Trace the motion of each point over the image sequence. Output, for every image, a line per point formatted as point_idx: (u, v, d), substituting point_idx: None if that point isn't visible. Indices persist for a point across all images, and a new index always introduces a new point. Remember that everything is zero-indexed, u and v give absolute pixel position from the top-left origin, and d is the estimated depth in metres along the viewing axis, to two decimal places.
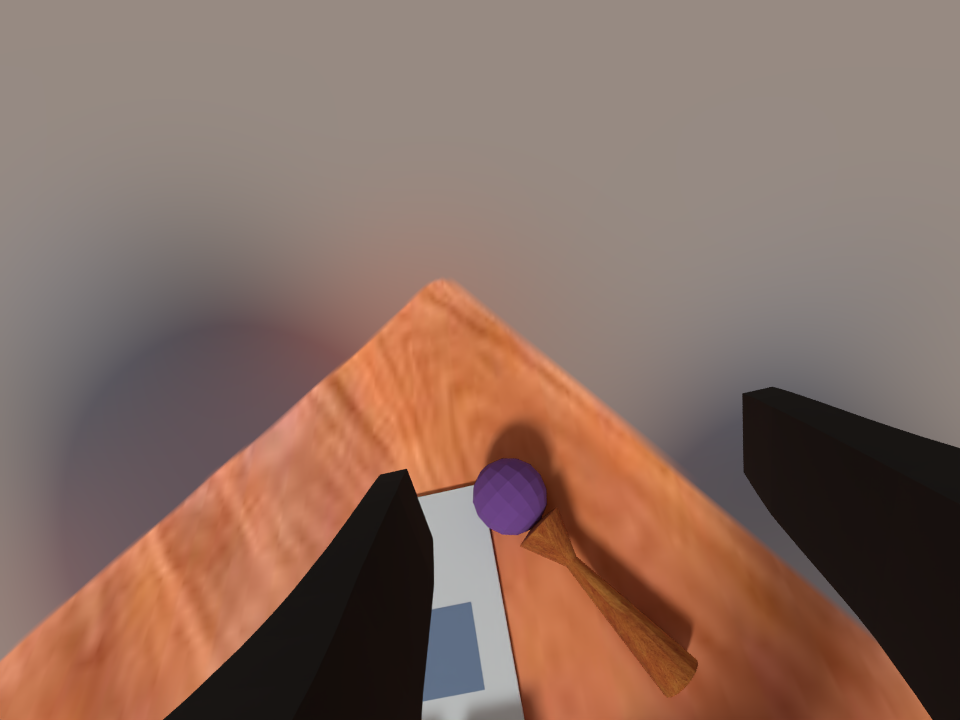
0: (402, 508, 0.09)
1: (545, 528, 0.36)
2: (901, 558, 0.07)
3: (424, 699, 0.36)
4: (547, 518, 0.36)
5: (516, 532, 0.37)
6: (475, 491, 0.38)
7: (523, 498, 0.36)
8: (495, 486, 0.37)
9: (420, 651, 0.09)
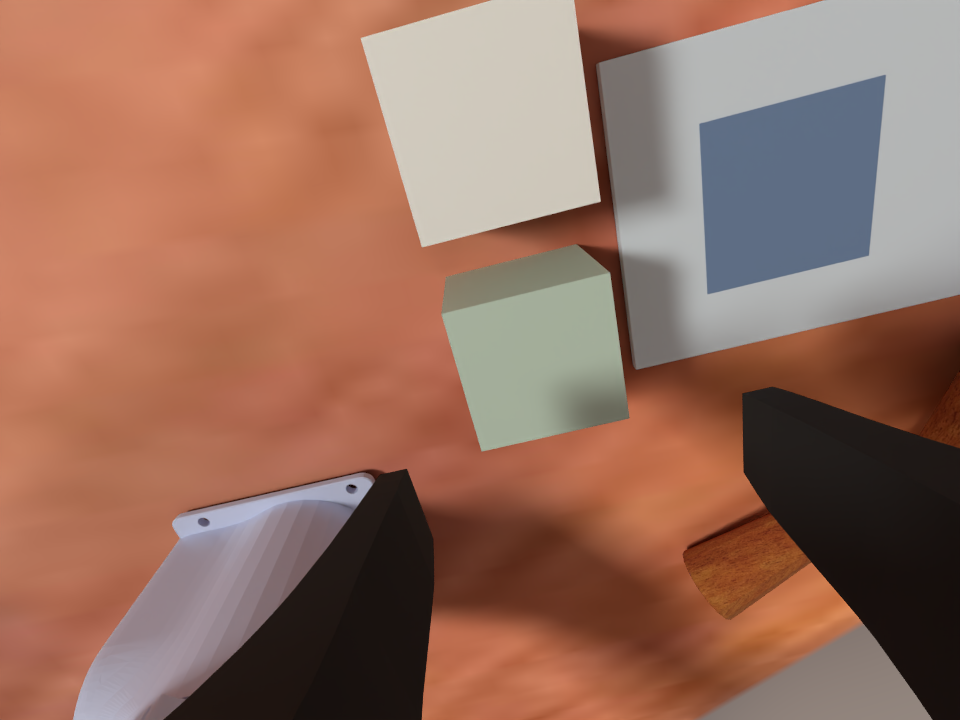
0: (402, 508, 0.09)
1: None
2: (901, 558, 0.07)
3: (704, 164, 0.16)
4: None
5: None
6: None
7: None
8: None
9: (420, 651, 0.09)
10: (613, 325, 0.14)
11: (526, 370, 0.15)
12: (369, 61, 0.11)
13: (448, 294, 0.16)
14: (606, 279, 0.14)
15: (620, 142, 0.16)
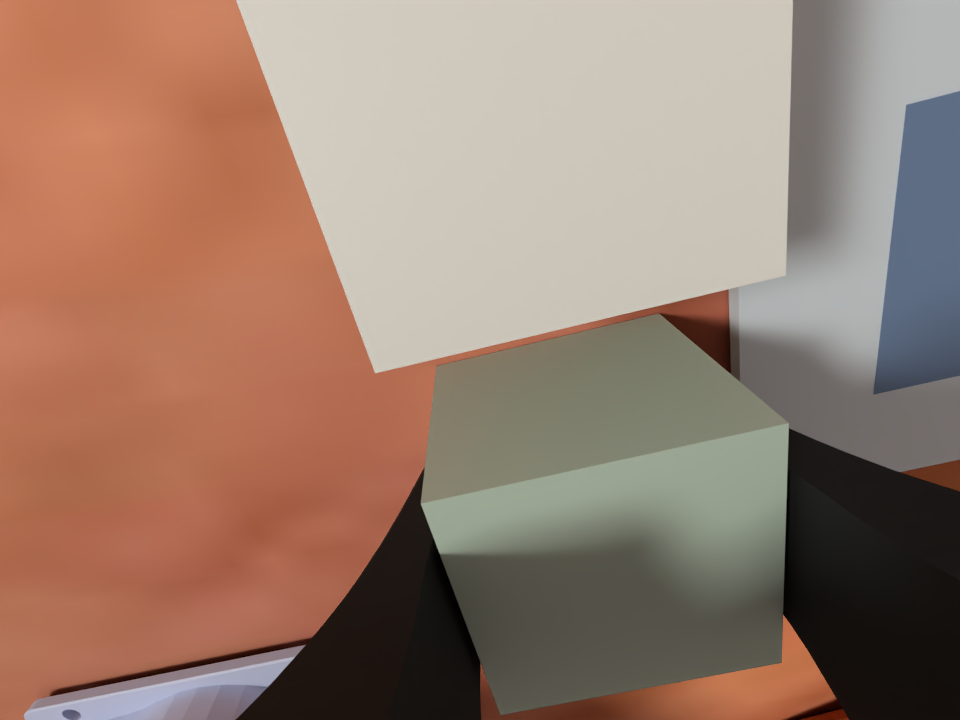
0: None
1: None
2: (824, 573, 0.07)
3: (904, 179, 0.09)
4: None
5: None
6: None
7: None
8: None
9: None
10: (779, 519, 0.07)
11: (594, 594, 0.07)
12: None
13: (437, 427, 0.08)
14: (779, 436, 0.06)
15: None
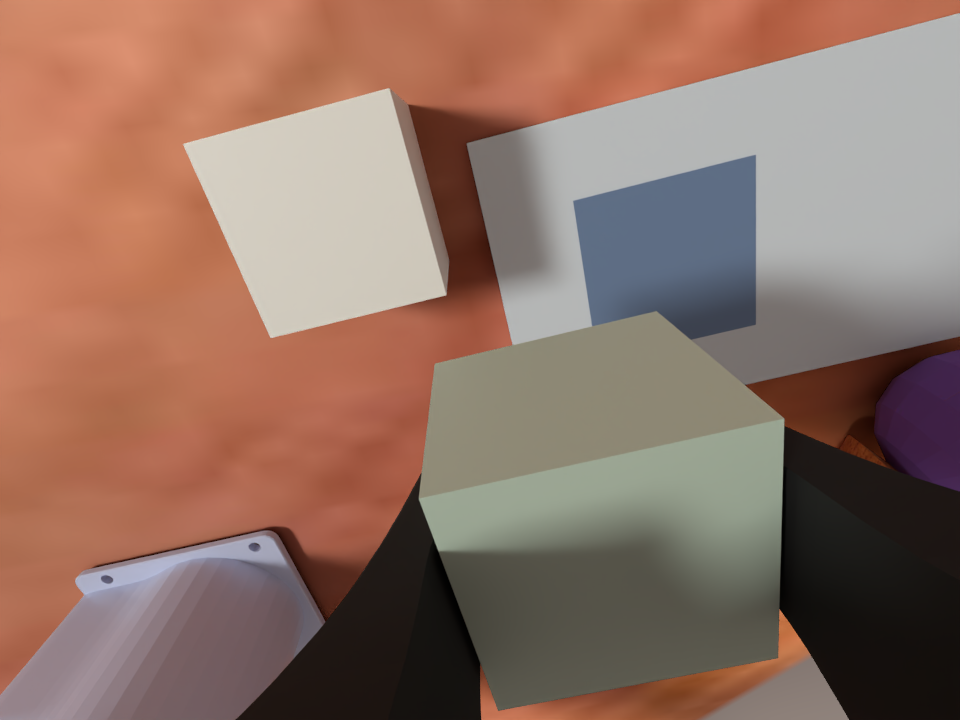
0: None
1: None
2: (824, 573, 0.07)
3: (582, 239, 0.16)
4: None
5: (914, 457, 0.17)
6: None
7: None
8: None
9: None
10: (774, 514, 0.07)
11: (591, 589, 0.07)
12: (194, 165, 0.11)
13: (435, 423, 0.08)
14: (774, 431, 0.06)
15: (495, 218, 0.16)
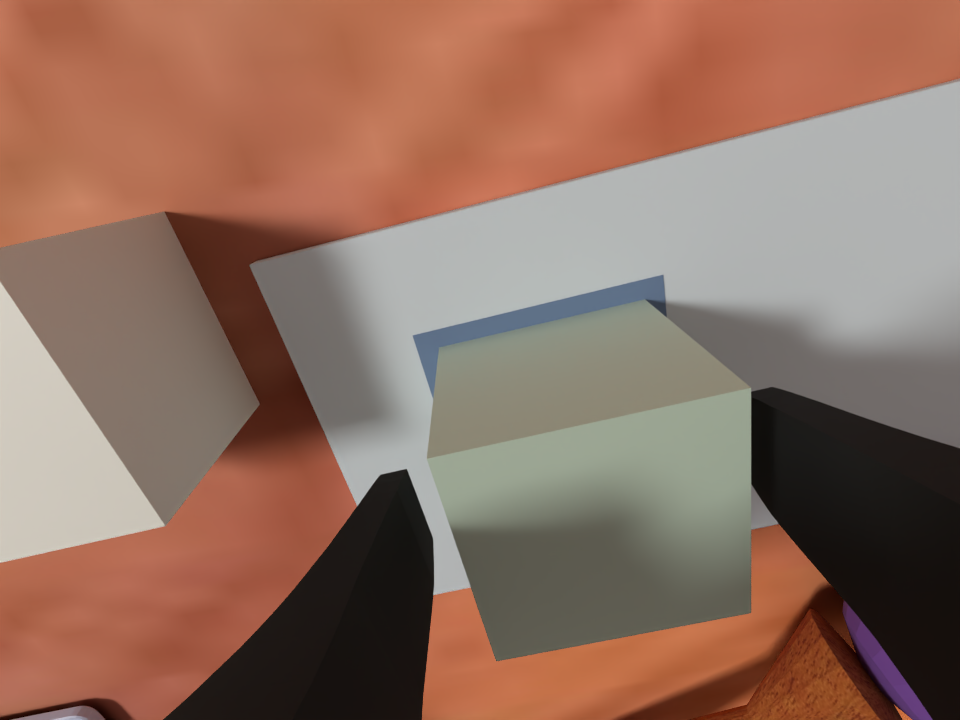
0: (402, 508, 0.09)
1: None
2: (901, 558, 0.07)
3: (432, 382, 0.12)
4: None
5: (890, 675, 0.13)
6: None
7: None
8: None
9: (420, 651, 0.09)
10: (744, 476, 0.08)
11: (581, 545, 0.08)
12: None
13: (440, 398, 0.09)
14: (742, 399, 0.07)
15: (307, 358, 0.12)
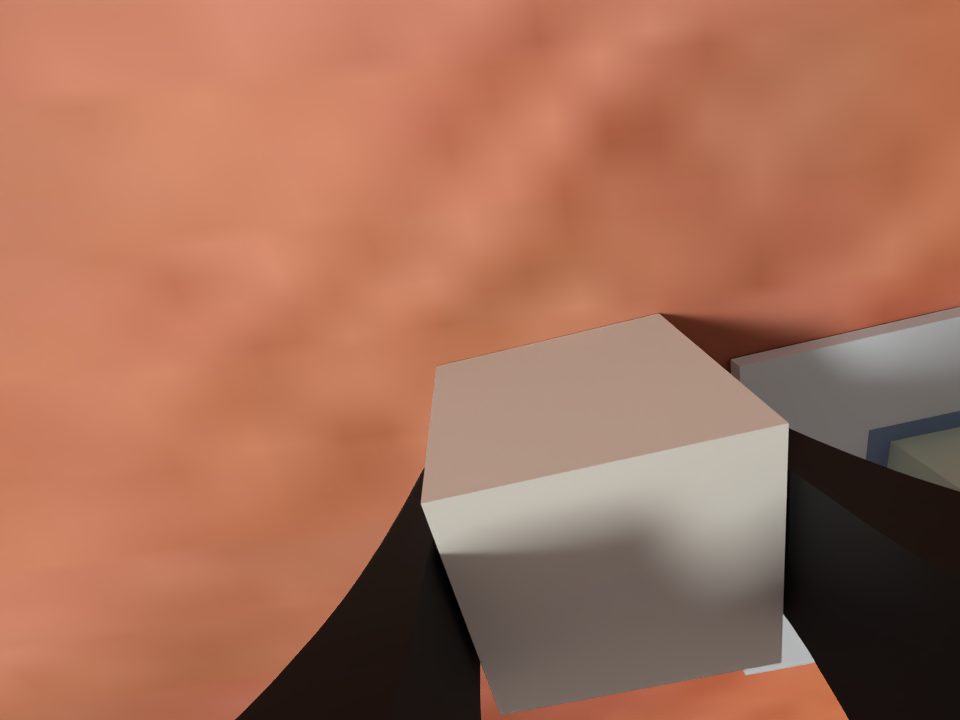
0: None
1: None
2: (824, 573, 0.07)
3: None
4: None
5: None
6: None
7: None
8: None
9: None
10: None
11: None
12: (433, 529, 0.07)
13: None
14: None
15: None
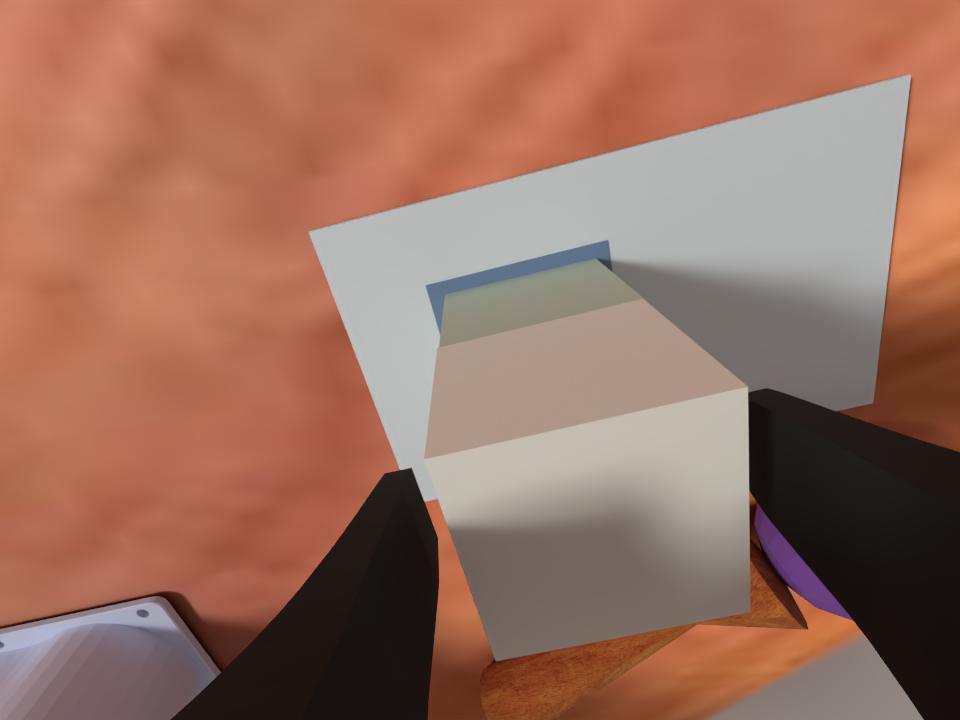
0: (407, 507, 0.09)
1: (784, 625, 0.17)
2: (893, 560, 0.07)
3: (439, 321, 0.16)
4: (803, 628, 0.17)
5: (779, 556, 0.17)
6: None
7: None
8: None
9: (425, 650, 0.09)
10: None
11: None
12: (435, 483, 0.08)
13: (447, 319, 0.13)
14: None
15: (348, 302, 0.16)
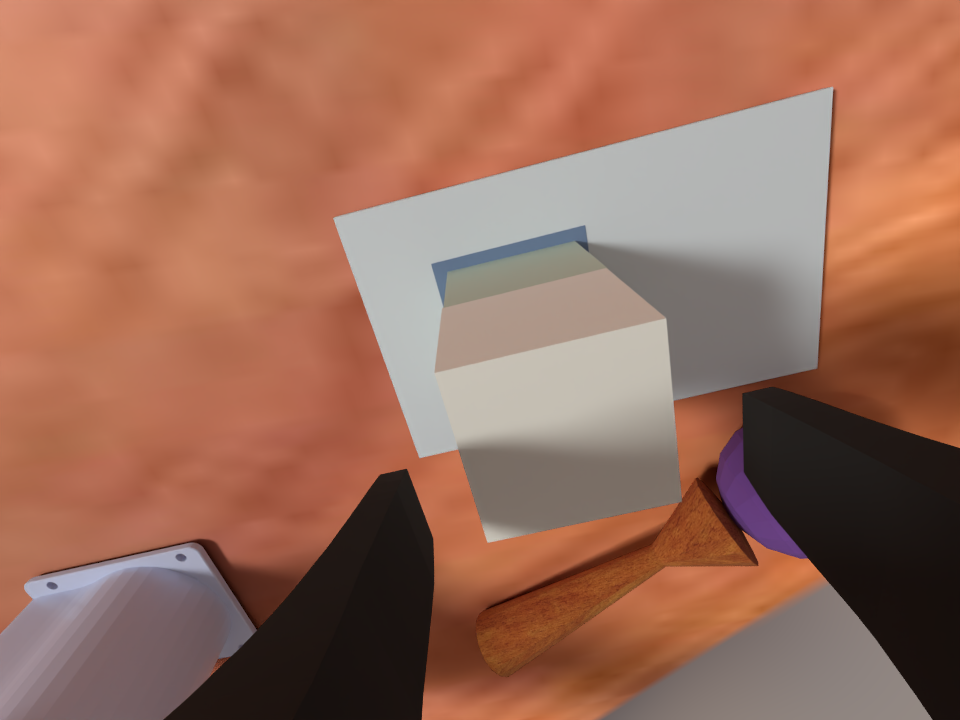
0: (402, 508, 0.09)
1: (737, 561, 0.20)
2: (901, 558, 0.07)
3: (442, 295, 0.19)
4: (753, 564, 0.20)
5: (734, 502, 0.20)
6: None
7: None
8: None
9: (420, 651, 0.09)
10: None
11: None
12: (442, 392, 0.10)
13: (449, 289, 0.16)
14: None
15: (365, 278, 0.18)
